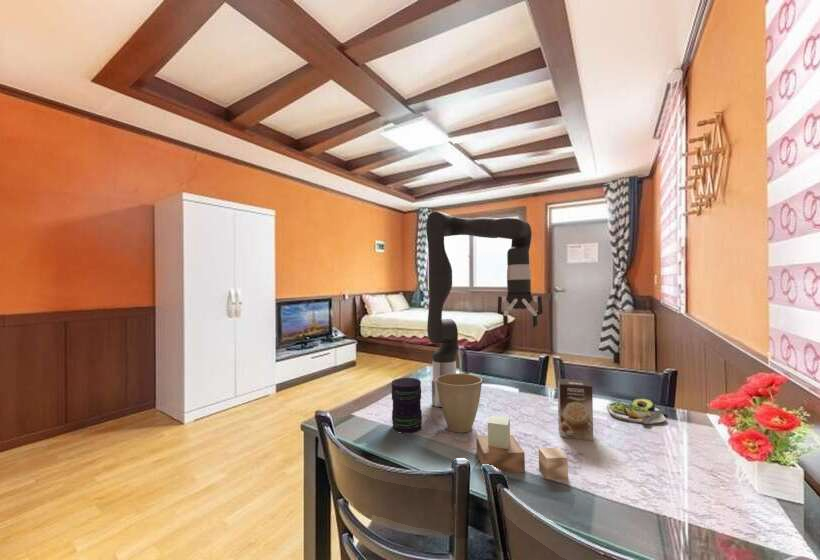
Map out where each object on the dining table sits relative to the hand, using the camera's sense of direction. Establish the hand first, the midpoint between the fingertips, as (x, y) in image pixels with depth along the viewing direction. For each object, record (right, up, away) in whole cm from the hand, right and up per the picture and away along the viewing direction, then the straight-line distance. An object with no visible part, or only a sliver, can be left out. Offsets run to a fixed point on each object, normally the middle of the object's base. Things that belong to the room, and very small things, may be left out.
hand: (520, 327), depth 113 cm
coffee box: (+14, -32, -9) cm, 36 cm away
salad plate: (+43, -32, +6) cm, 54 cm away
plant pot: (-20, -33, -3) cm, 39 cm away
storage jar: (-38, -33, -1) cm, 50 cm away
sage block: (-13, -27, -24) cm, 39 cm away
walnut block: (-13, -32, -24) cm, 42 cm away
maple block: (-2, -32, -30) cm, 44 cm away
